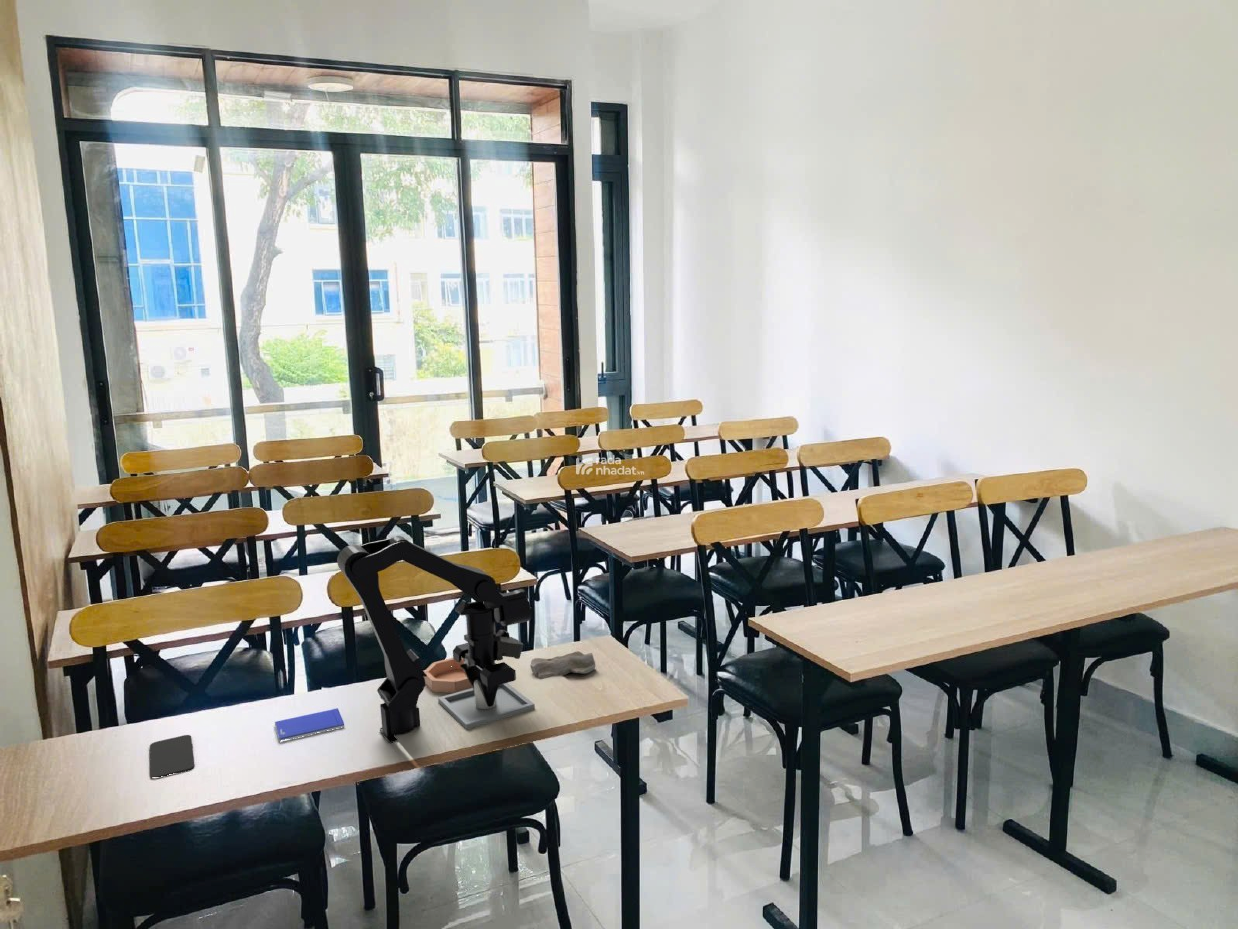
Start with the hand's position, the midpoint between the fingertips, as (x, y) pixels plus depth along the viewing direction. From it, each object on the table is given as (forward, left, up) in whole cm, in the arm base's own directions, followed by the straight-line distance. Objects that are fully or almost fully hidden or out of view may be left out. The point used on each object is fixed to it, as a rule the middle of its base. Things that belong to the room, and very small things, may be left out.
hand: (485, 702), depth 181 cm
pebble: (0, 0, 0) cm, 0 cm away
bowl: (0, +16, -2) cm, 16 cm away
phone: (-57, +18, -2) cm, 60 cm away
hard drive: (-32, +15, -2) cm, 36 cm away
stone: (+22, +8, -2) cm, 24 cm away
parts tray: (0, 0, -2) cm, 2 cm away
